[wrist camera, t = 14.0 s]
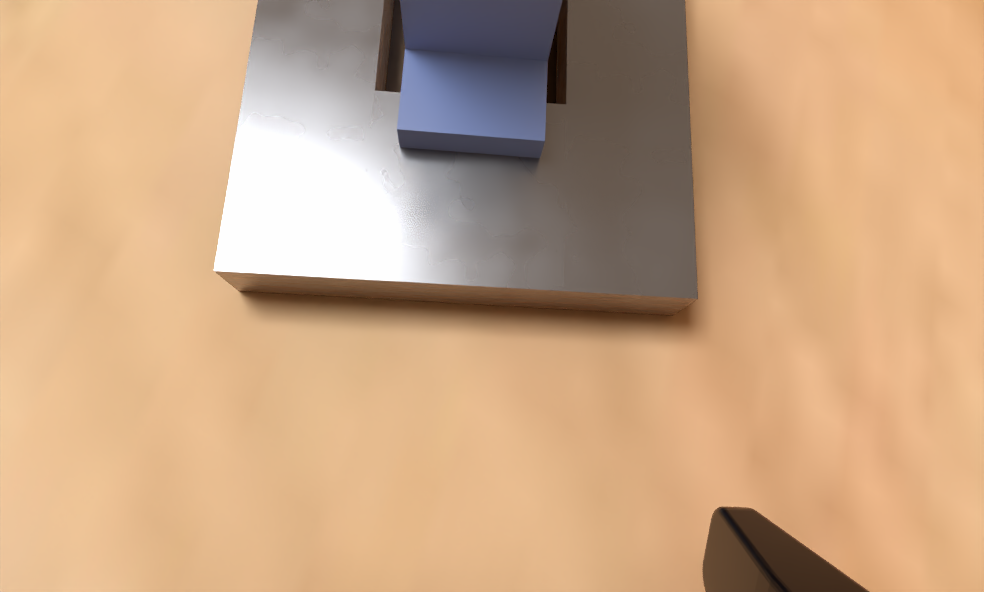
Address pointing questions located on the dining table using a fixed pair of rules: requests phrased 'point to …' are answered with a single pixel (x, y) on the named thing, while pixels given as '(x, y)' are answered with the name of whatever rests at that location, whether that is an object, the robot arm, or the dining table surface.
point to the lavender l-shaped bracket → (476, 75)
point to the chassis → (464, 171)
